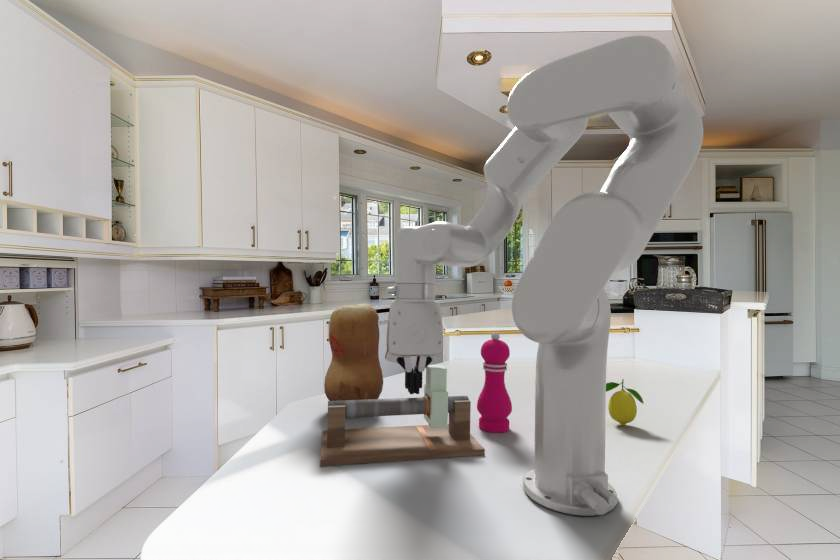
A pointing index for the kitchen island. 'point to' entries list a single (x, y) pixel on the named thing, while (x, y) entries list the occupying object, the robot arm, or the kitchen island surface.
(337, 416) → the pipe stand
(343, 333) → the butternut squash
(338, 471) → the kitchen island surface
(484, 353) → the pepper mill
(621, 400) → the lemon
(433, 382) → the sleeve
